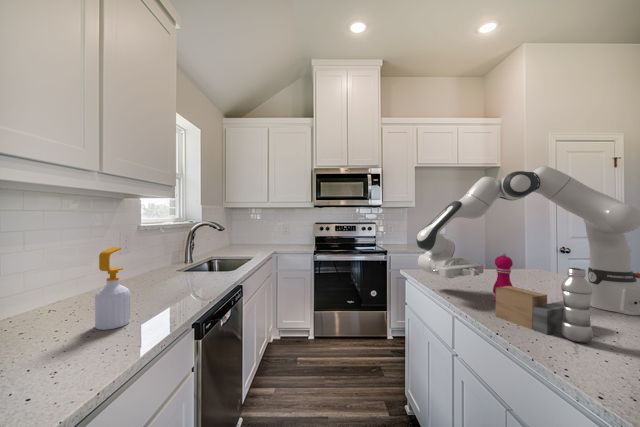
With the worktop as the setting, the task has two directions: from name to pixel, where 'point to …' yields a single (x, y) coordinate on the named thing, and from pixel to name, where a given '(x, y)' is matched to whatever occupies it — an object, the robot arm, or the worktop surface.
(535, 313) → the charcoal board
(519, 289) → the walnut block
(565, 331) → the silver metal bottle
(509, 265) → the pepper mill
